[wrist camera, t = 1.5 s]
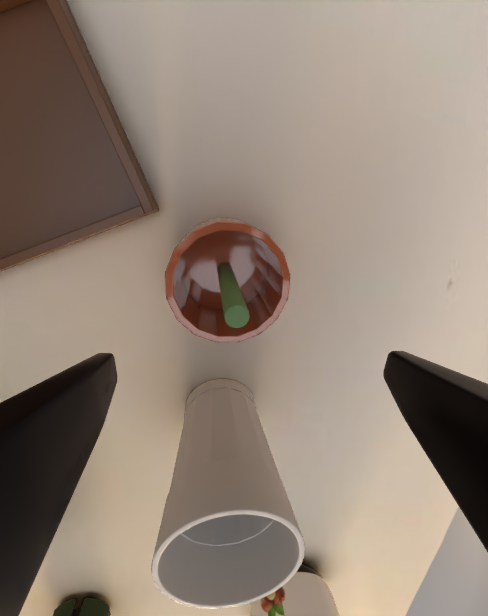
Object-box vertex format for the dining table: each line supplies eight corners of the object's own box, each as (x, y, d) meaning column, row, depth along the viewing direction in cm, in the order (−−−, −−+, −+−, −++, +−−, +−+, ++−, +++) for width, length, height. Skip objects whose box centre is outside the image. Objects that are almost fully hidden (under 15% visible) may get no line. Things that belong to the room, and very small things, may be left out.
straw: (220, 278, 21) (229, 332, 12) (214, 265, 21) (220, 310, 12) (233, 273, 21) (253, 323, 12) (228, 259, 21) (244, 301, 12)
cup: (189, 361, 24) (173, 501, 13) (275, 381, 26) (329, 519, 14) (166, 434, 26) (135, 607, 15) (246, 447, 28) (273, 611, 17)
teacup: (198, 325, 23) (195, 358, 18) (158, 239, 20) (142, 250, 15) (282, 293, 23) (303, 317, 18) (253, 202, 20) (268, 202, 15)
